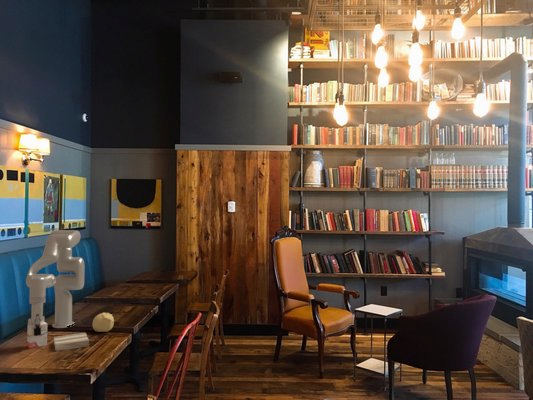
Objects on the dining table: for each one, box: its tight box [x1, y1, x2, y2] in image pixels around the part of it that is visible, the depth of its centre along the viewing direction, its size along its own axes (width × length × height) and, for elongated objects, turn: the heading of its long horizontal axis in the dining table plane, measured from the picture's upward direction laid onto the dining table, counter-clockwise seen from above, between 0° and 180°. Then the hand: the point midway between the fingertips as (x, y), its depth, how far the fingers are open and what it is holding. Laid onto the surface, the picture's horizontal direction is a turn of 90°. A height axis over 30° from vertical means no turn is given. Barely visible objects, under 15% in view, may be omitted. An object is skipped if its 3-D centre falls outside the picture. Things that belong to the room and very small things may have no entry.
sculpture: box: [92, 312, 115, 333], centre depth 252 cm, size 11×12×11 cm
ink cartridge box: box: [26, 315, 48, 349], centre depth 224 cm, size 9×5×15 cm, turn 134°
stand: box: [53, 332, 90, 352], centre depth 226 cm, size 16×16×3 cm
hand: (37, 333), depth 224 cm, fingers closed on ink cartridge box, 5 cm apart
